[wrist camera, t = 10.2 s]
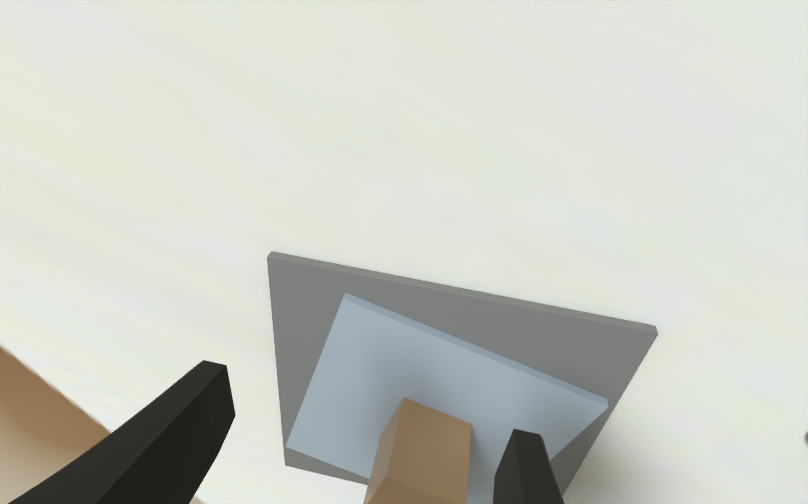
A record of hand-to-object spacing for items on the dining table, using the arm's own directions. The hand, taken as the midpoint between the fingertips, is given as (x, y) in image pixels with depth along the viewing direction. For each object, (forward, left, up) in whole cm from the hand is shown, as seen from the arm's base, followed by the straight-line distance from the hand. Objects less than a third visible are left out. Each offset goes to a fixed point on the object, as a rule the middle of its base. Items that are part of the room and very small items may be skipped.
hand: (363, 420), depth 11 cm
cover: (-2, +13, -9) cm, 16 cm away
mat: (-2, +12, -10) cm, 16 cm away
